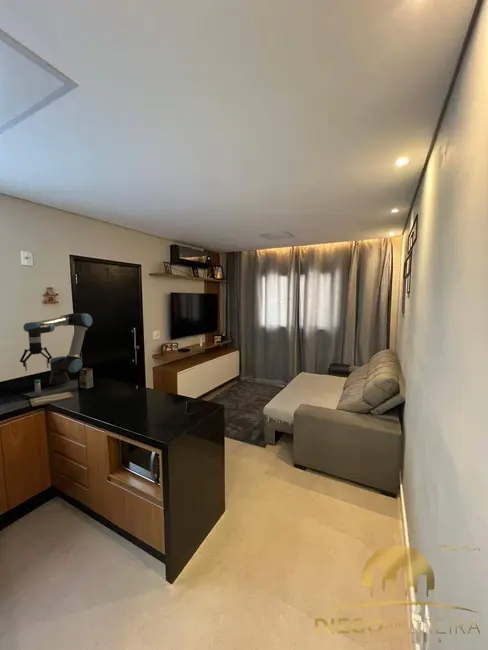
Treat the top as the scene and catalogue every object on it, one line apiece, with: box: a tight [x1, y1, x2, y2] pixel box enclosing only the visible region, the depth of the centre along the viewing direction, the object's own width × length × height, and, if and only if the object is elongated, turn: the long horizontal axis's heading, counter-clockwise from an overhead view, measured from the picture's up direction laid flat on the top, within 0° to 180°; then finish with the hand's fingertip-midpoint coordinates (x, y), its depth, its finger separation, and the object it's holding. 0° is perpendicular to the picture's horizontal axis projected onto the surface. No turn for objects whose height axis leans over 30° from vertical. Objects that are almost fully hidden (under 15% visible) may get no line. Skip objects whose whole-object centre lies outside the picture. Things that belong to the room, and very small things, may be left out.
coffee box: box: [78, 367, 94, 390], centre depth 245 cm, size 9×6×16 cm
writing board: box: [29, 391, 75, 408], centre depth 218 cm, size 16×26×1 cm, turn 132°
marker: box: [33, 379, 42, 398], centre depth 223 cm, size 4×4×13 cm
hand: (37, 369), depth 221 cm, fingers open, 13 cm apart
